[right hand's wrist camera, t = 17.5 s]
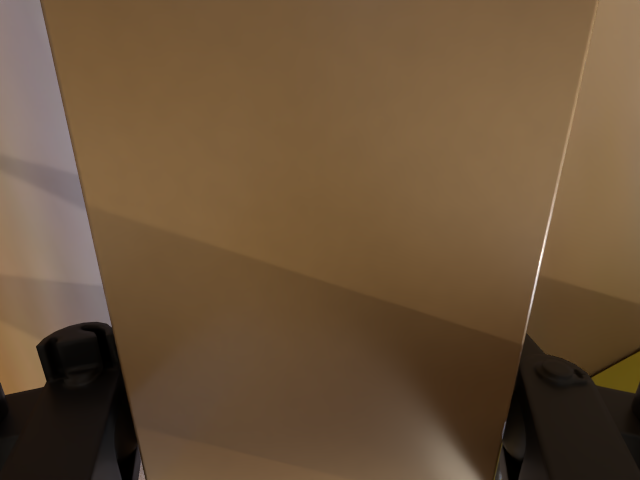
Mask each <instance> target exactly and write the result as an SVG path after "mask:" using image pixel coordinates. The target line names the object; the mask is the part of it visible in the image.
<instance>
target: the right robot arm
mask: <svg viewBox="0 0 640 480" xmlns="http://www.w3.org/2000/svg"><path fill="white" fill-rule="evenodd" d="M36 348H37V351H38V355H39V358H40V361H41V364H42V368H43V371H44V374H45V377H46V381H47V382H46V384H45V386H44V387H41V388H37V389H32V390H28V391H23V392H18V393H13V394H8V395H5V394H4V391H3V389H2V386H1V383H0V480H138V478H139V471H140V463H141V458H140V452H139V447H138V443H137V438H136V434H135V429H134V424H133V420H132V415H131V411H130V406H129V402H128V397H127V393H126V388H125V384H124V379H123V374H122V370H121V365H120V361H119V356H118V352H117V347H116V343H115V338H114V334H113V329H112V327H110V326H109V325H108V324H105V323H100V322H87V323H80V324H76V325H72V326H68V327H66V328H63V329H61V330H58V331H56V332H54V333H52V334H51V335H49V336H47V337H46V338H44V339H43V340H42V341H41V342H40V343H39V344H38V345H37V346H36ZM501 478H502V480H640V382H639V385H638V387H637V390H636V393H631V392H626V391H621V390H616V389H611V388H606V387H602V386H598V385H595V383H594V381H593V380H592V379H591V378H590V376H589V375H588V374H587V373H586V372H585V371H584V370H582V369H581V368H579V367H578V366H577V365H575V364H573V363H571V362H569V361H567V360H564V359H562V358H559V357H555V356H551V355H546V354H545V353H544V352H543V351H542V350H541V349H540V348H539V347H538V346H537V344H536V343H535V342H534V341H533V340H532V339H531V338H530V337H529V336H528V334H527V333H526V335H525V340H524V345H523V349H522V354H521V358H520V363H519V367H518V372H517V376H516V381H515V385H514V390H513V395H512V399H511V404H510V408H509V413H508V417H507V422H506V426H505V431H504V435H503V440H502V447H501V451H500V456H499V460H498V465H497V470H496V474H495V480H501Z"/></svg>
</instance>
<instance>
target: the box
mask: <svg viewBox="0 0 640 480" xmlns="http://www.w3.org/2000/svg"><path fill="white" fill-rule="evenodd" d="M40 2H41V7H42V11H43V16H44V20H45V25H46V29H47V34H48V38H49V43H50V47H51V52H52V57H53V61H54V66H55V70H56V75H57V79H58V84H59V88H60V93H61V97H62V102H63V107H64V111H65V116H66V120H67V125H68V129H69V134H70V138H71V143H72V147H73V152H74V156H75V161H76V166H77V170H78V175H79V179H80V184H81V188H82V193H83V197H84V202H85V206H86V211H87V216H88V220H89V225H90V229H91V234H92V238H93V243H94V247H95V252H96V256H97V261H98V265H99V270H100V275H101V279H102V284H103V288H104V293H105V297H106V302H107V306H108V311H109V315H110V320H111V325H112V329H113V334H114V338H115V343H116V347H117V352H118V356H119V361H120V365H121V370H122V374H123V379H124V384H125V388H126V393H127V397H128V402H129V406H130V411H131V415H132V420H133V424H134V429H135V434H136V438H137V443H138V447H139V452H140V456H141V461H142V465H143V470H144V474H145V479H146V480H494V476H495V472H496V467H497V463H498V458H499V454H500V449H501V445H502V440H503V435H504V431H505V426H506V422H507V417H508V413H509V408H510V404H511V399H512V395H513V390H514V385H515V381H516V376H517V372H518V367H519V363H520V358H521V354H522V349H523V345H524V340H525V335H526V331H527V326H528V322H529V317H530V313H531V308H532V304H533V299H534V295H535V290H536V285H537V281H538V276H539V272H540V267H541V263H542V258H543V254H544V249H545V245H546V240H547V235H548V231H549V226H550V222H551V217H552V213H553V208H554V204H555V199H556V195H557V190H558V185H559V181H560V176H561V172H562V167H563V163H564V158H565V154H566V149H567V145H568V140H569V135H570V131H571V126H572V122H573V117H574V113H575V108H576V104H577V99H578V95H579V90H580V85H581V81H582V76H583V72H584V67H585V63H586V58H587V54H588V49H589V45H590V40H591V35H592V31H593V26H594V22H595V17H596V13H597V8H598V4H599V0H40Z"/></svg>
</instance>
